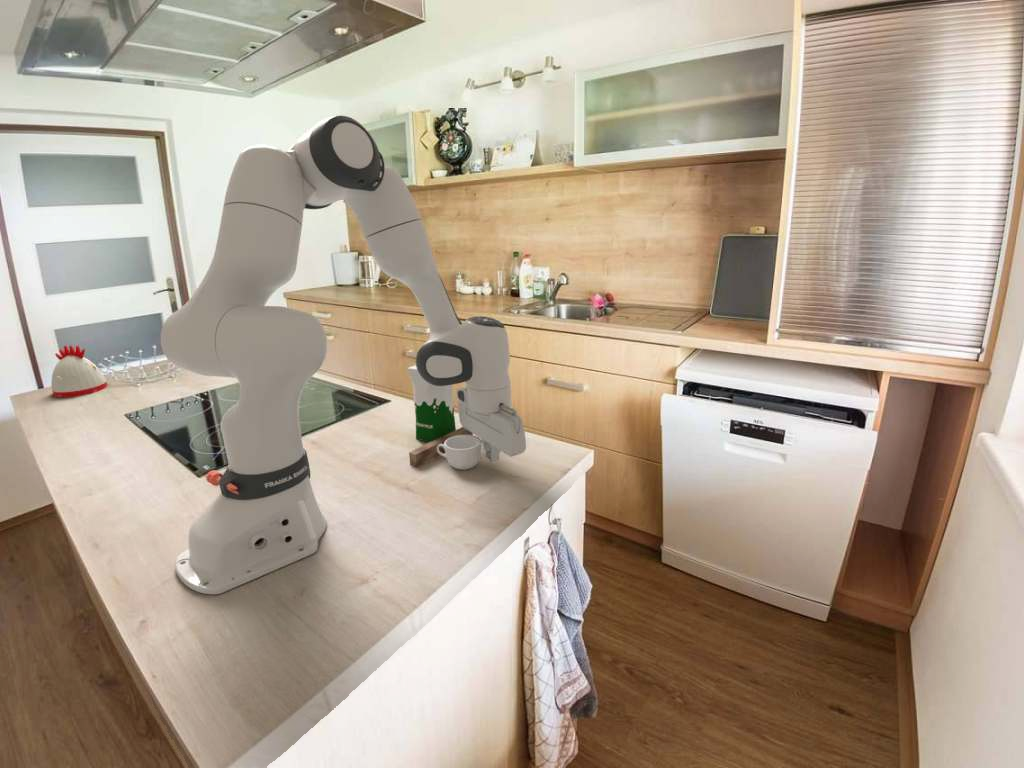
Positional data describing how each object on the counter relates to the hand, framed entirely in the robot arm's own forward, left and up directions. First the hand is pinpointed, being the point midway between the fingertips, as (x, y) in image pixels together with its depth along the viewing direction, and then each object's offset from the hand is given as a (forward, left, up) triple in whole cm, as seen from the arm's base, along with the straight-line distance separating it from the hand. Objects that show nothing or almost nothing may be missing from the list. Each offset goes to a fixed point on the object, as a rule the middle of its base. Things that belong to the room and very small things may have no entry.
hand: (492, 459), depth 108 cm
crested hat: (-35, +146, -2) cm, 150 cm away
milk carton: (+5, +22, -2) cm, 23 cm away
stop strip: (0, +15, -2) cm, 15 cm away
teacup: (-3, +7, -2) cm, 8 cm away
